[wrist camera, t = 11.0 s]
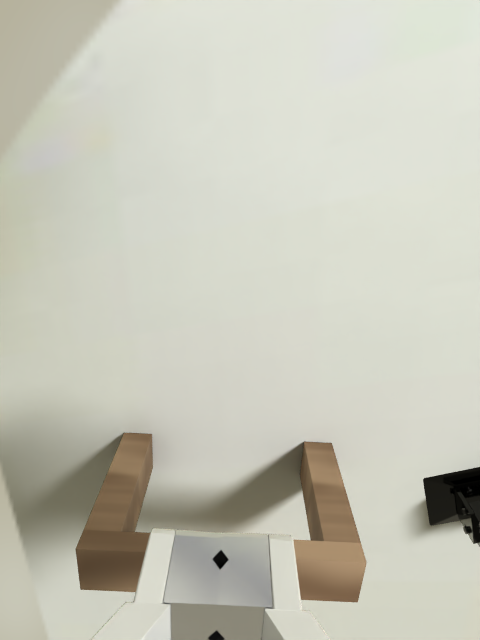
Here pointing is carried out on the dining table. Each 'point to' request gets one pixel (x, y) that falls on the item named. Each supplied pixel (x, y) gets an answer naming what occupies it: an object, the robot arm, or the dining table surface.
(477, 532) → the black stepped block
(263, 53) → the dining table surface
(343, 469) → the dining table surface
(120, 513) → the bridge
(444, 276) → the dining table surface
